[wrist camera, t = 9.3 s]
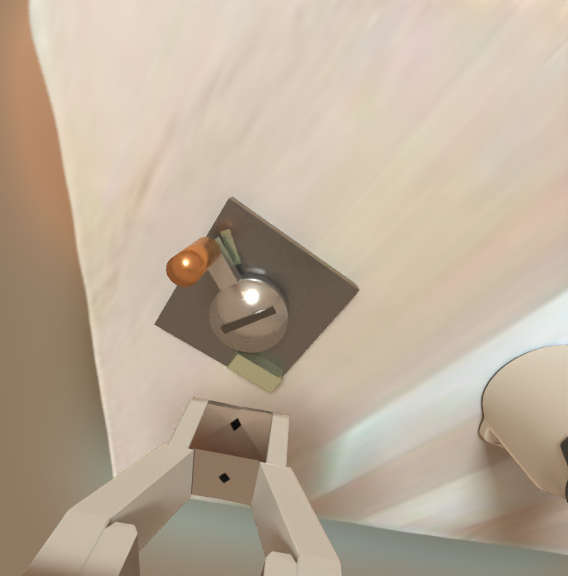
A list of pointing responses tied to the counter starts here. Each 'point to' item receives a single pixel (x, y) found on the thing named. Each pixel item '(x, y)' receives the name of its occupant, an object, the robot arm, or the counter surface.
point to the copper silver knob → (234, 297)
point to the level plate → (278, 268)
